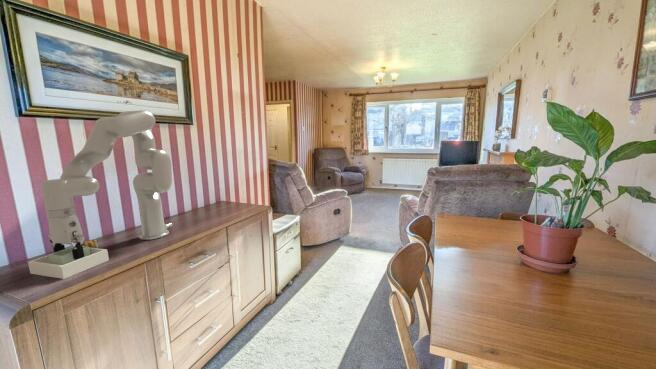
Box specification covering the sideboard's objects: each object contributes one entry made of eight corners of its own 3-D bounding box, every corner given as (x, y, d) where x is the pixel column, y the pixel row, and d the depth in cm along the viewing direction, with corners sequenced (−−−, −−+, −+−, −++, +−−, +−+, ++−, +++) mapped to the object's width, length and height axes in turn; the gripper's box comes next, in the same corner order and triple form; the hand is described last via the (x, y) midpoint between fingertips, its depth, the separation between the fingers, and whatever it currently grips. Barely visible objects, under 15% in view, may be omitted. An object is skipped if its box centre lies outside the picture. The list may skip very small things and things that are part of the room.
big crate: (78, 256, 111) (76, 245, 111) (109, 260, 107) (107, 249, 106) (30, 273, 97) (27, 261, 96) (63, 278, 93) (61, 266, 92)
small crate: (78, 258, 107) (76, 245, 106) (91, 260, 105) (89, 246, 105) (50, 268, 99) (47, 254, 98) (64, 270, 97) (61, 256, 96)
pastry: (70, 255, 113) (68, 247, 112) (69, 251, 117) (68, 243, 117) (99, 249, 119) (98, 240, 119) (97, 245, 124) (96, 237, 123)
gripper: (90, 211, 100) (97, 255, 103) (57, 209, 105) (65, 251, 107) (66, 217, 93) (74, 263, 96) (32, 214, 97) (41, 259, 100)
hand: (69, 257), depth 101 cm, fingers open, 9 cm apart
